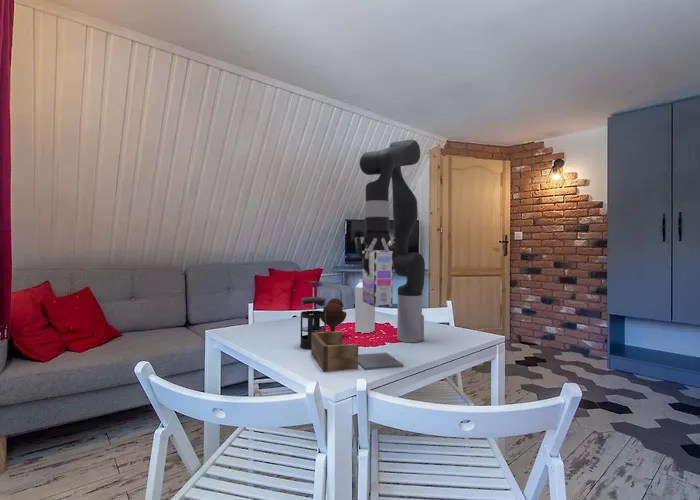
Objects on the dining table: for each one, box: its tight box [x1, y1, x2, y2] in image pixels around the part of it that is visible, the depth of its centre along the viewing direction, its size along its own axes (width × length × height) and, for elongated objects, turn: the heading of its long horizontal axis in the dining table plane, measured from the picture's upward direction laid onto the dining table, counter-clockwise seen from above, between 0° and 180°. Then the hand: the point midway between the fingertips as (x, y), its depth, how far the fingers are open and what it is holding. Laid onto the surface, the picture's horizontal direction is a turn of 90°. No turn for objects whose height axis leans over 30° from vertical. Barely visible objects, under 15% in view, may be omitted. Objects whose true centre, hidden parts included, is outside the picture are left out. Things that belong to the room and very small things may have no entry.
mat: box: [358, 352, 404, 371], centre depth 121 cm, size 12×14×1 cm
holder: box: [310, 330, 359, 373], centre depth 122 cm, size 10×19×7 cm, turn 16°
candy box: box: [361, 249, 394, 308], centre depth 121 cm, size 14×6×16 cm, turn 13°
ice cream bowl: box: [320, 297, 347, 332], centre depth 156 cm, size 11×11×15 cm
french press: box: [299, 280, 327, 351], centre depth 140 cm, size 12×9×23 cm
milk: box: [354, 278, 376, 334], centre depth 164 cm, size 6×6×22 cm
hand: (376, 270), depth 121 cm, fingers closed on candy box, 6 cm apart
